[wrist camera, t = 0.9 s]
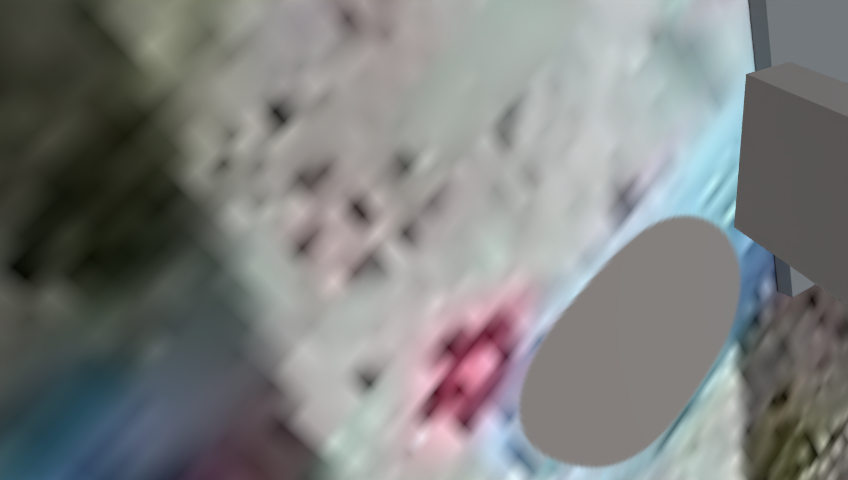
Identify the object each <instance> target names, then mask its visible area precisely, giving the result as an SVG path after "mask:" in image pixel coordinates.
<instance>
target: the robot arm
mask: <svg viewBox="0 0 848 480" xmlns="http://www.w3.org/2000/svg"><path fill="white" fill-rule="evenodd" d="M734 227H735V228H736V229H738V230H739V231H740V232H742V233H743V234H745V235H746V236H748V237H749V238H750V239H752V240H753V241H755V242H756V243H758V244H759V245H761V246H762V247H763V248H765V249H766V250H768V251H769V252H771V253H772V254H774V255H775V256H776V257H778V258H779V259H781V260H782V261H784V262H785V263H786V264H788V265H789V266H791V267H792V268H794V269H795V270H797V271H798V272H799V273H801V274H802V275H804V276H805V277H807V278H808V279H809V280H811V281H812V282H814V283H815V284H817V285H818V286H820V287H821V288H822V289H824V290H825V291H827V292H828V293H830V294H831V295H832V296H834V297H835V298H837V299H838V300H840V301H841V302H843V303H844V304H845V305H847V306H848V83H845V82H842V81H840V80H837V79H834V78H832V77H829V76H826V75H824V74H821V73H818V72H816V71H813V70H810V69H807V68H805V67H802V66H799V65H797V64H794V63H791V62H787V63H783V64H780V65H776V66H773V67H769V68H766V69H762V70H759V71H755V72H752V73H748V74H746V84H745V97H744V110H743V122H742V135H741V148H740V160H739V173H738V186H737V198H736V211H735V224H734Z"/></svg>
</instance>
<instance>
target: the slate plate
mask: <svg viewBox="0 0 848 480" xmlns="http://www.w3.org/2000/svg"><path fill="white" fill-rule="evenodd" d="M749 4H750V14H751V24H752V34H753V44H754V54H755V64H756V71H759V70H762V69H766V68H769V67H773V66H776V65H780V64H783V63H787V62H791V63H794V64H797V65H799V66H802V67H805V68H807V69H810V70H813V71H816V72H818V73H821V74H824V75H826V76H829V77H832V78H834V79H837V80H840V81H842V82H845V83H848V0H749ZM775 265H776V275H777V285H778V292H781V293H783V294H786V295H788V296H791V297H794V296H796V295H798V294H799V293H801V292H803V291H804V290H806V289H808V288H810V287H811V286H813V285H815V283H814V282H812V281H811V280H809V279H808V278H807V277H805V276H804V275H802V274H801V273H799V272H798V271H797V270H795V269H794V268H792V267H791V266H789V265H788V264H786V263H785V262H784V261H782V260H781V259H779V258H778V257H776V256H775Z"/></svg>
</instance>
